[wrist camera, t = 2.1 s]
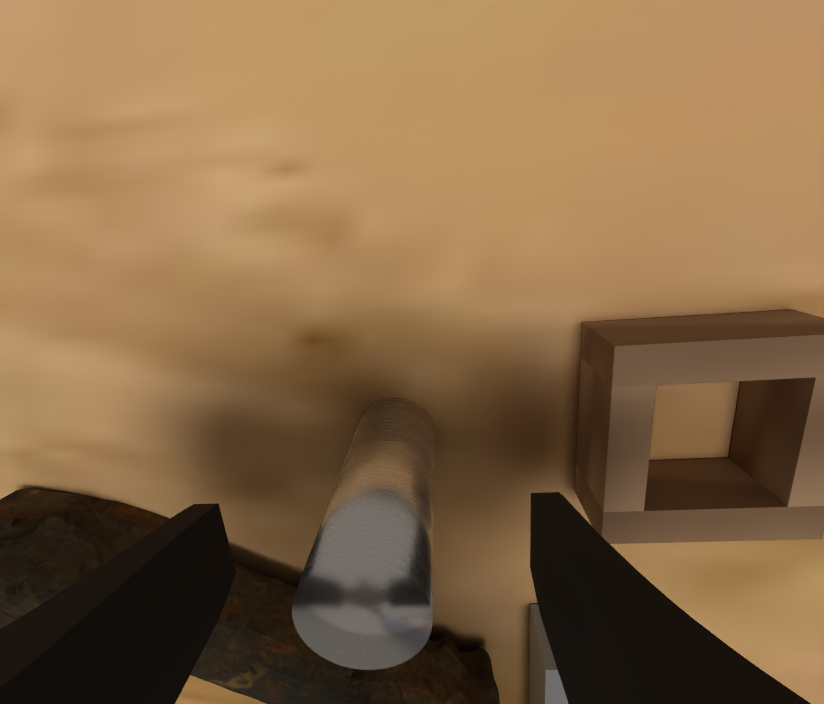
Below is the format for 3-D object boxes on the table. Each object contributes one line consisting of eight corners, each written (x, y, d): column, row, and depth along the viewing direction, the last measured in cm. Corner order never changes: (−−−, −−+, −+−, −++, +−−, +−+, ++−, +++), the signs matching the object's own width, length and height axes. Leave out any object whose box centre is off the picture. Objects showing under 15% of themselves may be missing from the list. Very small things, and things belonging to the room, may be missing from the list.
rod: (436, 465, 15) (436, 669, 8) (362, 468, 15) (303, 669, 8) (431, 396, 14) (427, 559, 7) (353, 400, 14) (281, 562, 8)
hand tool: (499, 634, 17) (520, 776, 13) (450, 693, 19) (454, 843, 14) (48, 424, 16) (-105, 507, 11) (26, 505, 17) (-122, 609, 12)
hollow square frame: (758, 485, 14) (822, 539, 12) (574, 491, 15) (601, 544, 12) (792, 309, 13) (875, 331, 10) (581, 322, 13) (614, 346, 11)
